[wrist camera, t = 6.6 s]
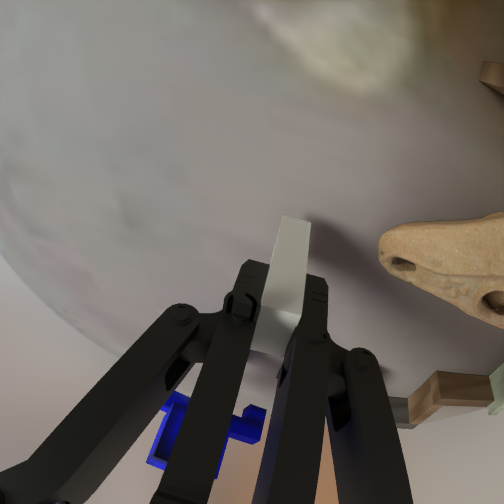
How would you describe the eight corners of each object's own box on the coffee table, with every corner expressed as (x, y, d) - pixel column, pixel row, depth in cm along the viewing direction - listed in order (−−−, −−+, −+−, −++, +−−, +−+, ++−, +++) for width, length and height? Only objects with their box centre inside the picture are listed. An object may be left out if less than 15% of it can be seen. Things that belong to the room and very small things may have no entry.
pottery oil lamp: (380, 159, 15) (414, 230, 9) (549, 178, 12) (613, 241, 6) (368, 288, 20) (375, 381, 14) (513, 287, 17) (547, 362, 11)
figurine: (281, 360, 26) (253, 493, 16) (205, 363, 29) (164, 476, 19) (250, 299, 22) (200, 462, 13) (165, 308, 25) (101, 436, 15)
